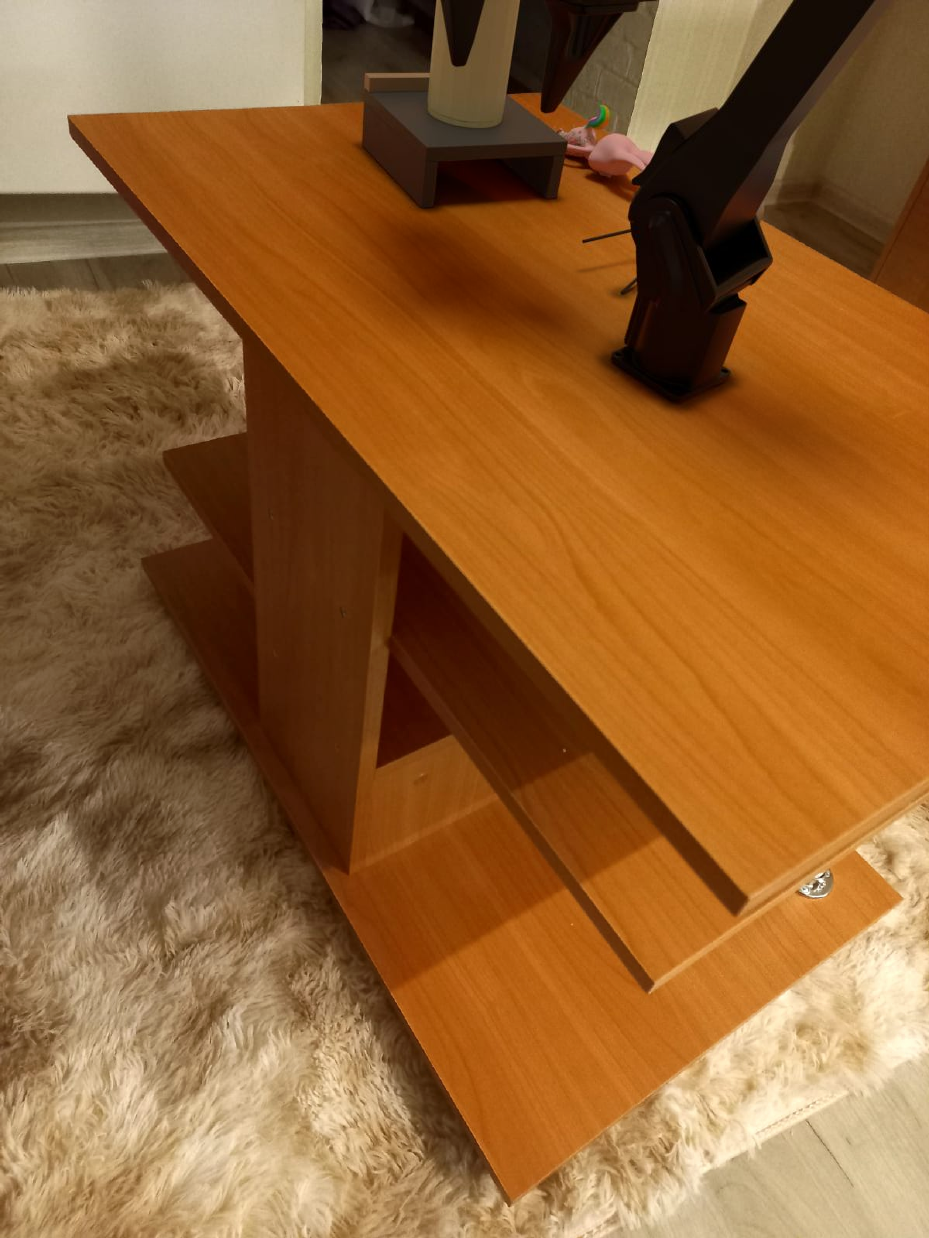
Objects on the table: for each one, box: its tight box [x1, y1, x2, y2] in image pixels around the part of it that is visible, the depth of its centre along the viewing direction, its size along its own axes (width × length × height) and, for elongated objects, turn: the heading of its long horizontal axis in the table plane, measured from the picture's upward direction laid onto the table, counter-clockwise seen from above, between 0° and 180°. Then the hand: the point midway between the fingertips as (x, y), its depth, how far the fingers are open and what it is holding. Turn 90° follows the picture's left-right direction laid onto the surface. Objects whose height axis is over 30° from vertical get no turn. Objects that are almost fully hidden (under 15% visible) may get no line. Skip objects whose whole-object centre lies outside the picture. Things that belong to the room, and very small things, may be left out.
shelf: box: [361, 72, 568, 209], centre depth 80 cm, size 14×14×6 cm
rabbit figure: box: [553, 104, 655, 179], centre depth 85 cm, size 6×6×15 cm
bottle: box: [427, 0, 521, 128], centre depth 74 cm, size 7×7×14 cm
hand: (501, 88), depth 60 cm, fingers open, 9 cm apart
